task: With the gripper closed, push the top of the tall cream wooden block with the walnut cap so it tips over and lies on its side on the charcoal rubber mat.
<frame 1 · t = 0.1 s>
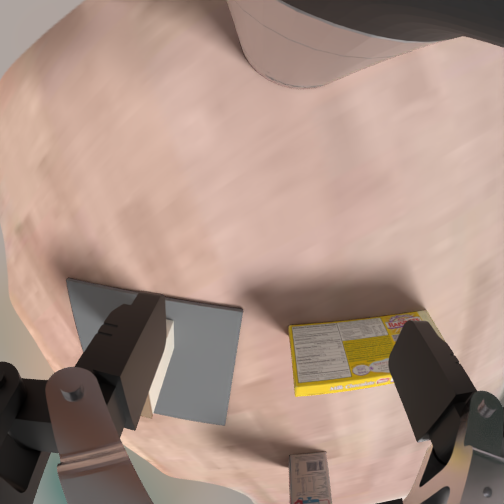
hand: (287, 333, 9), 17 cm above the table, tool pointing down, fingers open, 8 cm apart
juice carton: (306, 459, 46), on the table
mat: (153, 365, 35), on the table
cream block: (147, 329, 31), resting on mat
candy box: (361, 323, 31), on the table
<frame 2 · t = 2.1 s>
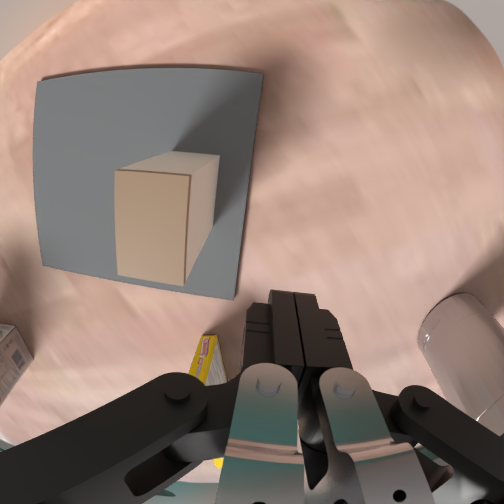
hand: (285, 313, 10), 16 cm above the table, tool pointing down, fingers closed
juice carton: (13, 340, 35), on the table
mat: (123, 181, 25), on the table
cream block: (192, 189, 24), resting on mat
candy box: (220, 383, 34), on the table
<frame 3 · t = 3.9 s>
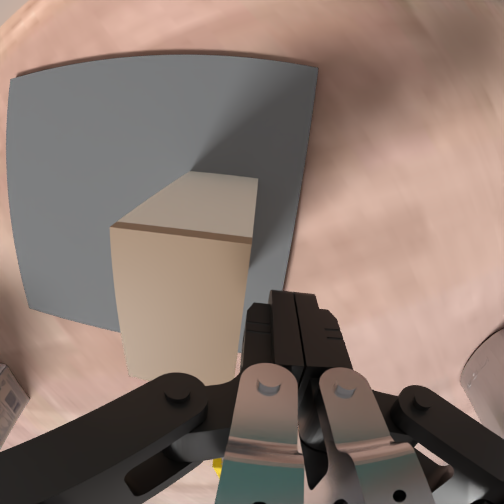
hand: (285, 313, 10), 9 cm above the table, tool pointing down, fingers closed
juice carton: (6, 378, 29), on the table
mat: (123, 210, 19), on the table
cream block: (218, 223, 18), point 1 cm above the table, touching gripper, mat
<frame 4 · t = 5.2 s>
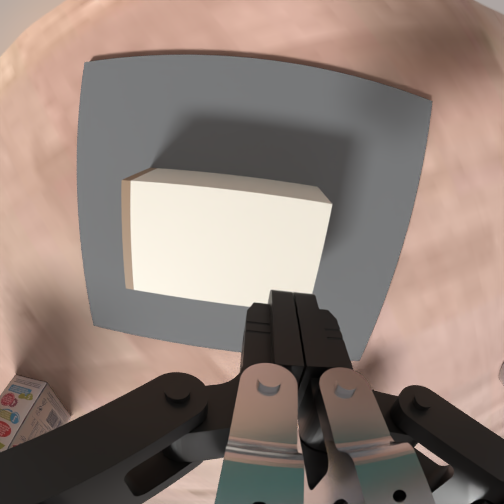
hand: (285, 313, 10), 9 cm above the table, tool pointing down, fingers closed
juice carton: (43, 395, 29), on the table
mat: (236, 222, 19), on the table
cream block: (313, 247, 17), point 2 cm above the table, tilted 90°, touching mat
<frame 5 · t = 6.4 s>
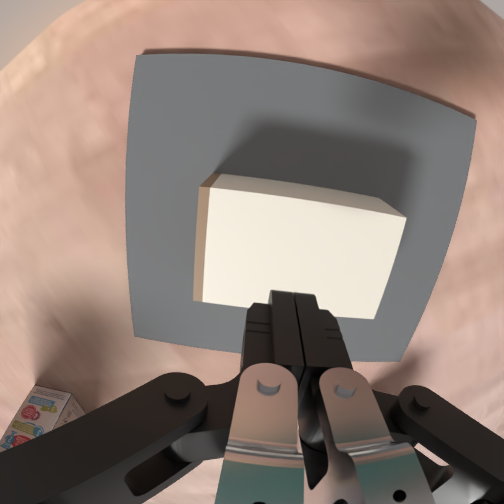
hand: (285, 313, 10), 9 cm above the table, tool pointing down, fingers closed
juice carton: (64, 405, 29), on the table
mat: (299, 230, 19), on the table
cream block: (378, 256, 16), point 2 cm above the table, tilted 90°, touching mat
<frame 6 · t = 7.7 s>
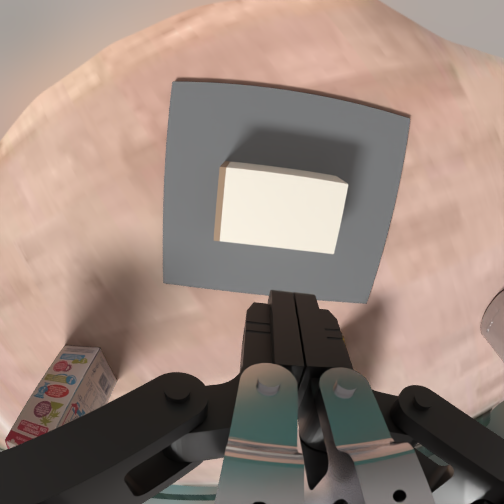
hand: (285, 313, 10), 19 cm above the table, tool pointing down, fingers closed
juice carton: (90, 362, 37), on the table
mat: (282, 199, 28), on the table
cream block: (335, 213, 25), point 2 cm above the table, tilted 90°, touching mat
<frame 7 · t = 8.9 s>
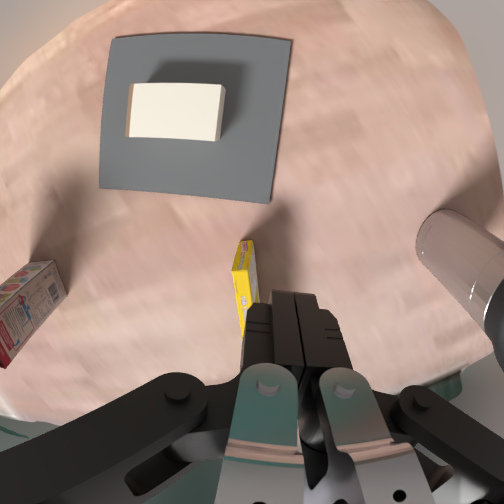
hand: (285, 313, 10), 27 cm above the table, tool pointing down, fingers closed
juice carton: (47, 278, 42), on the table
mat: (185, 112, 32), on the table
cream block: (220, 113, 30), point 2 cm above the table, tilted 90°, touching mat
candy box: (251, 294, 42), on the table
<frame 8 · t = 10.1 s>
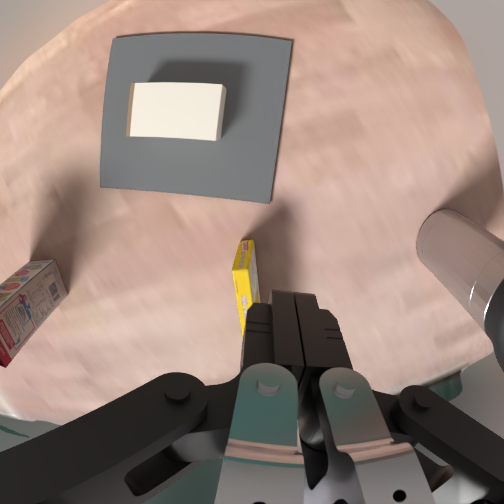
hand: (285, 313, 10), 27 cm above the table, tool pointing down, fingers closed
juice carton: (48, 277, 42), on the table
mat: (186, 111, 32), on the table
cream block: (221, 113, 30), point 2 cm above the table, tilted 90°, touching mat
candy box: (252, 293, 42), on the table
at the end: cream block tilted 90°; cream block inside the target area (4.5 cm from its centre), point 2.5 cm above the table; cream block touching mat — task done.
